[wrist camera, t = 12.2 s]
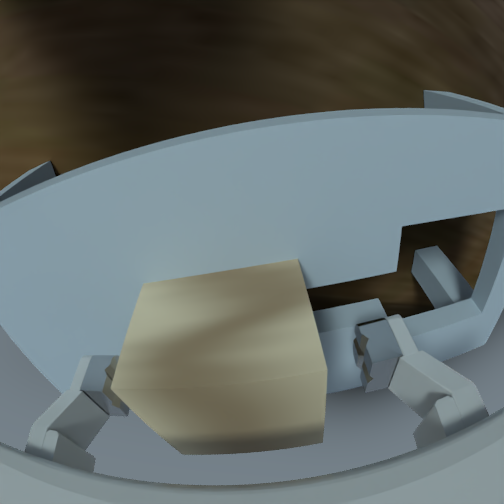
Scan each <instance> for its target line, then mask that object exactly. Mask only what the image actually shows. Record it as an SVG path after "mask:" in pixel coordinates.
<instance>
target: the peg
mask: <svg viewBox="0 0 504 504" xmlns="http://www.w3.org/2000/svg"><path fill="white" fill-rule="evenodd" d="M327 371H328V370H327V366H326V361H325V357H324V353H323V350H322V346H321V342H320V338H319V334H318V330H317V326H316V322H315V319H314V315H313V311H312V308H311V304H310V300H309V297H308V293H307V289H306V286H305V282H304V279H303V275H302V271H301V268H300V264H299V261H298V259H292V260H287V261H281V262H275V263H269V264H263V265H257V266H251V267H245V268H239V269H233V270H226V271H220V272H214V273H208V274H202V275H195V276H189V277H183V278H176V279H170V280H163V281H157V282H150V283H144V284H143V286H142V288H141V291H140V294H139V297H138V300H137V303H136V306H135V309H134V312H133V315H132V318H131V321H130V324H129V327H128V330H127V333H126V336H125V340H124V343H123V346H122V350H121V353H120V356H119V360H118V363H117V367H116V370H115V374H114V378H113V381H112V385H111V390H112V391H113V392H114V393H115V394H116V395H117V396H118V397H119V398H120V399H121V400H122V401H123V402H124V403H125V404H126V405H127V406H128V407H129V408H130V409H131V410H132V411H133V412H134V413H135V414H136V415H137V416H139V417H140V418H141V419H142V420H143V421H144V422H145V423H146V424H147V425H148V426H149V427H150V428H152V429H153V430H154V431H155V432H156V433H157V434H158V435H160V436H161V437H162V438H163V439H164V440H165V441H167V442H168V443H169V444H170V445H171V446H173V447H174V448H175V449H176V450H178V451H179V452H180V453H181V454H185V455H191V454H192V455H207V454H208V455H211V454H236V453H250V452H261V451H270V450H279V449H287V448H294V447H300V446H306V445H312V444H317V443H322V442H323V433H324V421H325V407H326V391H327Z"/></svg>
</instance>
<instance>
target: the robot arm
mask: <svg viewBox="0 0 504 504" xmlns="http://www.w3.org/2000/svg"><path fill="white" fill-rule="evenodd" d="M354 333H355V335H356V338H355V339H354V340H353V355H354V359H355V363H356V366H357V367H358V368H360V369H361V374H360V379H361V382H362V385H363V388H364V392H365V393H368V392H372V391H376V390H380V389H384V388H388V387H389V389H390V390H391V391H392V392H393V393H394V394H395V395H396V396H397V397H399V398H400V399H401V400H402V401H403V402H404V403H406V404H407V405H408V406H409V407H410V408H411V409H412V410H413V411H415V412H416V413H417V414H418V415H419V416H420V417H422V418H423V421H422V422H421V423H420V425H419V426H418V427H417V429H416V430H415V431H414V433H413V435H414V438H415V441H416V444H417V448H418V449H416V450H413V451H411V452H408V453H405V454H402V455H399V456H396V457H393V458H390V459H387V460H384V461H380V462H377V463H374V464H370V465H366V466H362V467H358V468H354V469H350V470H346V471H342V472H337V473H332V474H327V475H322V476H317V477H311V478H305V479H298V480H291V481H283V482H275V483H263V484H250V485H226V486H225V485H221V486H220V485H219V486H208V485H207V486H206V485H180V484H166V483H155V482H147V481H138V480H132V479H125V478H119V477H114V476H108V475H103V474H99V473H94V472H93V471H94V465H95V458H94V456H93V455H91V454H89V453H88V452H86V451H85V450H86V449H87V447H88V446H89V445H90V443H91V442H92V440H93V439H94V437H95V436H96V435H97V434H98V432H99V431H100V429H101V428H102V427H103V425H104V424H105V423H106V421H107V420H108V419H109V417H110V416H128V413H129V407H128V406H127V405H126V404H125V403H124V402H123V401H122V400H121V399H120V398H119V397H118V396H117V395H116V394H115V393H114V392H113V391H112V390H111V385H112V381H113V378H114V374H115V370H116V367H117V363H118V360H119V355H84V356H83V357H82V358H81V359H80V362H79V364H78V367H77V370H76V372H75V375H74V378H73V381H72V384H71V387H70V390H66V391H65V392H64V393H63V394H62V395H61V396H60V397H59V398H58V399H57V400H56V401H55V402H54V403H53V404H52V405H51V406H50V407H49V408H48V409H47V410H46V411H45V412H44V413H43V414H42V415H41V416H40V417H39V418H38V419H37V420H36V421H35V422H34V424H32V428H31V431H30V434H29V438H28V441H27V445H26V449H25V452H23V451H21V450H18V449H16V448H13V447H11V446H8V445H6V444H4V443H1V442H0V504H504V407H503V408H502V409H500V410H498V411H497V412H495V413H493V414H491V415H490V416H489V414H488V412H487V410H486V407H485V405H484V403H483V401H482V398H481V396H480V394H479V392H478V390H477V388H476V386H475V384H474V383H473V382H472V381H470V380H469V379H467V378H465V377H464V376H462V375H461V374H459V373H458V372H456V371H454V370H453V369H451V368H450V367H448V366H447V365H445V364H443V363H442V362H440V361H439V360H437V359H436V358H434V357H432V356H431V355H429V354H428V353H426V352H425V351H423V350H422V351H418V349H417V347H416V345H415V343H414V341H413V339H412V337H411V335H410V333H409V331H408V329H407V327H406V325H405V323H404V321H403V319H402V317H401V316H400V315H399V314H397V315H393V316H389V317H385V318H380V319H376V320H372V321H368V322H364V323H359V324H356V325H355V329H354Z"/></svg>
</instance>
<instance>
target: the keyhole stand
mask: <svg viewBox="0 0 504 504" xmlns="http://www.w3.org/2000/svg"><path fill="white" fill-rule="evenodd" d="M491 211H496V216H495V220H494V225H493V229H492V233H491V237H490V240H489V244H488V248H487V251H486V255H485V258H484V261H483V265H482V268H481V271H480V274H479V277H478V280H477V283H476V286H475V289H474V290H473V289H472V288H471V286H470V285H469V284H468V282H467V281H466V280H465V279H464V277H463V276H462V275H461V274H460V272H459V271H458V270H457V269H456V267H455V266H454V265H453V264H452V263H451V261H450V260H449V259H448V258H447V257H446V255H445V254H444V253H443V252H442V251H441V250H440V248H439V247H438V246H433V247H428V248H423V249H418V250H415V254H414V260H413V266H412V271H411V272H412V274H413V275H414V277H415V278H416V280H417V281H418V283H419V284H420V286H421V287H422V289H423V290H424V292H425V293H426V295H427V296H428V298H429V300H430V301H431V303H432V304H433V306H434V307H435V310H431V311H428V312H424V313H421V314H417V315H414V316H410V317H406V318H402V319H403V321H404V323H405V325H406V327H407V329H408V331H409V333H410V335H411V337H412V339H413V341H414V343H415V345H416V347H417V349H418V351H422V350H423V351H425V352H426V353H428V354H429V355H431V356H432V357H434V358H436V359H437V360H439V361H440V362H442V361H445V360H447V359H450V358H453V357H455V356H458V355H460V354H463V353H465V352H467V351H470V350H473V349H475V348H477V347H479V346H482V345H484V344H485V343H486V341H487V339H488V338H489V335H490V334H491V332H492V330H493V328H494V326H495V324H496V322H497V320H498V318H499V316H500V314H501V312H502V310H503V308H504V108H502V107H499V106H496V105H493V104H490V103H487V102H483V101H480V100H477V99H473V98H470V97H466V96H462V95H458V94H454V93H450V92H442V91H427V90H424V108H382V109H358V110H343V111H330V112H319V113H309V114H301V115H293V116H285V117H278V118H271V119H264V120H258V121H252V122H246V123H241V124H235V125H230V126H225V127H220V128H215V129H210V130H206V131H201V132H197V133H193V134H188V135H184V136H180V137H176V138H172V139H168V140H165V141H161V142H157V143H154V144H150V145H147V146H143V147H140V148H136V149H133V150H130V151H127V152H123V153H120V154H117V155H114V156H111V157H108V158H105V159H102V160H99V161H96V162H93V163H91V164H88V165H85V166H82V167H80V168H77V169H74V170H72V171H69V172H67V173H64V174H62V175H59V176H57V177H56V175H55V172H54V170H53V167H52V164H51V161H48V162H46V163H44V164H42V165H40V166H37V167H35V168H33V169H31V170H29V171H28V172H26V173H25V174H23V175H22V176H20V177H19V178H17V179H16V180H15V181H13V182H12V183H10V184H9V185H8V186H6V187H5V188H4V189H2V190H1V191H0V325H1V326H2V328H3V329H4V330H5V331H6V333H7V334H8V335H9V337H10V338H11V339H12V340H13V341H14V343H15V344H16V345H17V346H18V347H19V349H20V350H21V351H22V352H23V353H24V354H25V356H27V358H28V359H29V360H30V361H31V362H32V363H33V364H34V365H35V367H37V369H38V370H39V371H40V372H41V373H42V374H43V375H44V376H45V377H46V378H47V379H48V380H49V381H50V382H51V383H52V384H53V385H54V386H55V387H56V388H57V389H58V390H59V391H60V392H61V393H62V394H63V393H64V392H65V391H66V390H70V387H71V384H72V381H73V378H74V375H75V372H76V370H77V367H78V364H79V362H80V359H81V358H82V357H83V356H84V355H119V356H120V353H121V350H122V346H123V343H124V340H125V336H126V333H127V330H128V327H129V324H130V321H131V318H132V315H133V312H134V309H135V306H136V303H137V300H138V297H139V294H140V291H141V288H142V286H143V284H144V283H150V282H157V281H163V280H170V279H176V278H183V277H189V276H195V275H202V274H208V273H214V272H220V271H226V270H233V269H239V268H245V267H251V266H257V265H263V264H269V263H275V262H281V261H287V260H292V259H298V261H299V264H300V268H301V271H302V275H303V279H304V282H305V286H306V289H309V288H314V287H320V286H325V285H331V284H336V283H341V282H346V281H351V280H356V279H362V278H366V277H371V276H376V275H381V274H386V273H391V272H395V271H396V270H397V263H398V256H399V248H400V240H401V230H402V226H407V225H413V224H419V223H425V222H431V221H437V220H443V219H449V218H455V217H461V216H467V215H473V214H479V213H485V212H491ZM313 315H314V319H315V322H316V326H317V330H318V334H319V338H320V342H321V346H322V350H323V353H324V357H325V361H326V366H327V370H328V371H327V391H326V394H330V393H335V392H339V391H344V390H348V389H352V388H356V387H360V386H363V385H362V382H361V379H360V374H361V369H360V368H358V367H357V366H356V363H355V359H354V355H353V340H354V339H355V338H356V335H355V333H354V329H355V325H356V324H359V323H364V322H368V321H372V320H376V319H380V318H385V317H387V315H386V313H385V311H384V309H383V307H382V305H381V303H380V301H379V299H378V298H376V299H372V300H367V301H363V302H358V303H353V304H348V305H344V306H339V307H334V308H328V309H323V310H318V311H313ZM129 410H131V409H130V408H129Z"/></svg>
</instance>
